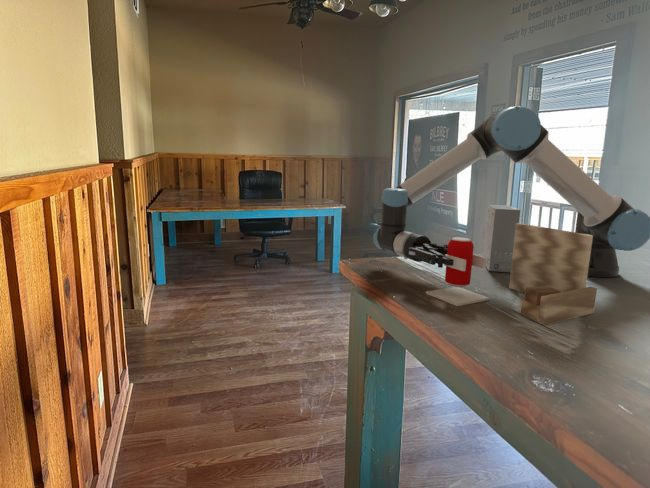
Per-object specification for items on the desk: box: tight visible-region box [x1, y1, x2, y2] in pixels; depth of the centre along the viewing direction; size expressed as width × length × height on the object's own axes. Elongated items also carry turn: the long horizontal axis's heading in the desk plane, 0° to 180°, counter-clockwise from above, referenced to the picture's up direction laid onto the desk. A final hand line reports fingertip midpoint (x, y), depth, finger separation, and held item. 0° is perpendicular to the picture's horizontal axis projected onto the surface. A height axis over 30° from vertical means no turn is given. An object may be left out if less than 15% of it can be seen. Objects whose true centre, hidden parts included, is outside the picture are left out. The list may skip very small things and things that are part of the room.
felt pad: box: [425, 286, 490, 307], centre depth 115 cm, size 11×11×1 cm
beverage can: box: [444, 236, 475, 288], centre depth 114 cm, size 6×6×12 cm
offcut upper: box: [523, 286, 561, 305], centre depth 102 cm, size 4×6×3 cm, turn 103°
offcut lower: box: [520, 299, 540, 321], centre depth 103 cm, size 5×7×4 cm
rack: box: [508, 222, 598, 326], centre depth 110 cm, size 23×18×18 cm
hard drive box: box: [482, 204, 522, 274], centre depth 147 cm, size 16×8×20 cm, turn 168°
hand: (474, 264), depth 109 cm, fingers closed on beverage can, 6 cm apart
